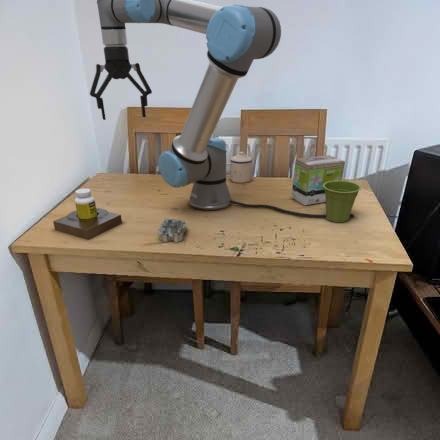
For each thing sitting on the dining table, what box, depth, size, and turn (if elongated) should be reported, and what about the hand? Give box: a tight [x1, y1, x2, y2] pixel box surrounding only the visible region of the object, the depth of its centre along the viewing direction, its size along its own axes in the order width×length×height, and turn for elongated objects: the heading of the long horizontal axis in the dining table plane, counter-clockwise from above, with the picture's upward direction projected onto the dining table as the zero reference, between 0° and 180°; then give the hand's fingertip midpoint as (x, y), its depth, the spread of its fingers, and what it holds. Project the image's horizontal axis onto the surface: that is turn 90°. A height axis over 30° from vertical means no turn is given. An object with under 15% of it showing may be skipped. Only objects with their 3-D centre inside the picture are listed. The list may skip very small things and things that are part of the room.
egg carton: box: [157, 217, 187, 243], centre depth 126 cm, size 11×8×4 cm
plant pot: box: [323, 180, 362, 223], centre depth 134 cm, size 12×12×11 cm
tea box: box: [291, 154, 346, 206], centre depth 150 cm, size 15×10×15 cm, turn 114°
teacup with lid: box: [226, 151, 253, 184], centre depth 172 cm, size 12×9×12 cm
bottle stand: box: [52, 207, 123, 241], centre depth 134 cm, size 16×16×3 cm
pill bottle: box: [74, 188, 97, 219], centre depth 133 cm, size 6×6×11 cm
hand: (124, 118), depth 141 cm, fingers open, 13 cm apart
